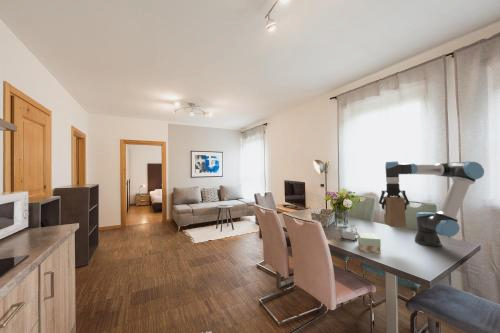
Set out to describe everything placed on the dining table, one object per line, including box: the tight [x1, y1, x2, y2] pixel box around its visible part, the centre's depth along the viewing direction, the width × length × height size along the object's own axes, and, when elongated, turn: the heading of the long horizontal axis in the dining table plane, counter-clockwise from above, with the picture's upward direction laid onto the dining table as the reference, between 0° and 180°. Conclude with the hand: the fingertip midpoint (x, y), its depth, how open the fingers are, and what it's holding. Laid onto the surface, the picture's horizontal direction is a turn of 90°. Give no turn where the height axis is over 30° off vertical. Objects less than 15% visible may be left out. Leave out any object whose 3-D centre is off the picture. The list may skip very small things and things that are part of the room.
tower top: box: [357, 232, 382, 248], centre depth 146 cm, size 12×12×5 cm
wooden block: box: [382, 195, 407, 228], centre depth 144 cm, size 10×10×20 cm
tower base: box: [357, 239, 381, 254], centre depth 146 cm, size 12×12×5 cm
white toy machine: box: [340, 223, 359, 242], centre depth 173 cm, size 18×10×12 cm
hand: (394, 214), depth 144 cm, fingers closed on wooden block, 11 cm apart
